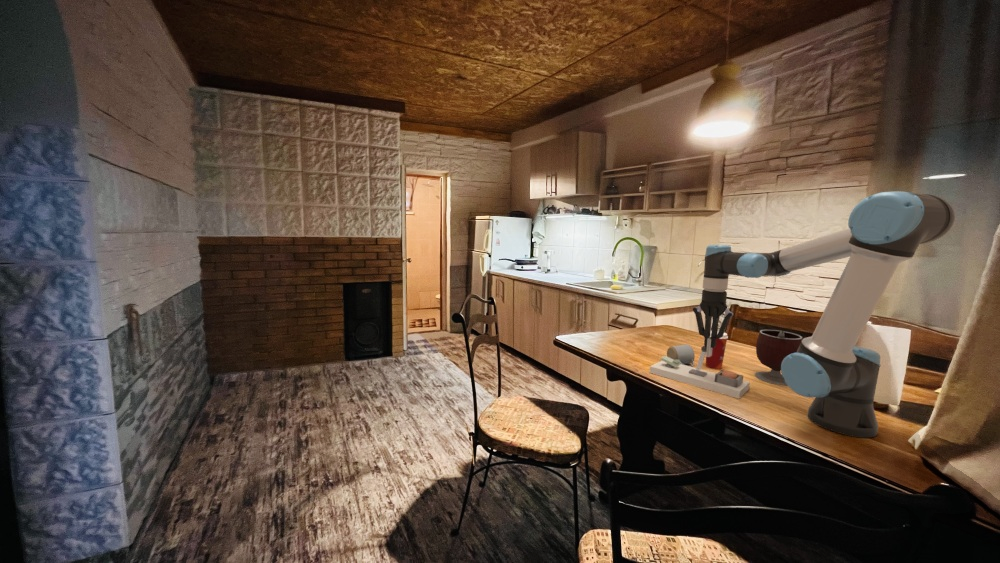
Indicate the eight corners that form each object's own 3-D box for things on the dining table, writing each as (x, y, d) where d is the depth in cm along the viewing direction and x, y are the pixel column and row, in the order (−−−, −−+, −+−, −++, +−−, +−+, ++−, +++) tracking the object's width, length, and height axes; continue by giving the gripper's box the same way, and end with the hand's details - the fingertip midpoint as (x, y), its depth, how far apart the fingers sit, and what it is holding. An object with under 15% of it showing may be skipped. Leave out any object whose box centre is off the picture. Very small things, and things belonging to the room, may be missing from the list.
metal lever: (702, 370, 143) (709, 346, 141) (700, 371, 142) (707, 348, 139) (696, 367, 145) (703, 344, 142) (693, 369, 143) (701, 345, 141)
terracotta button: (737, 380, 136) (738, 373, 136) (734, 383, 133) (734, 376, 133) (723, 376, 139) (724, 369, 139) (719, 379, 136) (720, 372, 136)
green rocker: (679, 365, 149) (681, 361, 149) (676, 367, 147) (677, 363, 146) (664, 358, 153) (665, 354, 153) (660, 359, 151) (661, 355, 150)
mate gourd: (752, 369, 157) (758, 320, 155) (796, 377, 150) (803, 325, 147) (752, 381, 144) (759, 327, 142) (799, 391, 137) (808, 334, 134)
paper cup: (727, 371, 155) (731, 336, 153) (706, 369, 156) (710, 334, 154) (720, 364, 162) (723, 330, 160) (699, 362, 163) (703, 329, 161)
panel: (749, 389, 137) (750, 375, 137) (739, 398, 129) (740, 383, 128) (662, 365, 158) (664, 353, 158) (649, 372, 150) (650, 359, 149)
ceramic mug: (664, 360, 165) (666, 342, 164) (682, 359, 166) (684, 342, 165) (681, 370, 154) (683, 351, 153) (699, 369, 156) (701, 350, 155)
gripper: (738, 291, 135) (731, 358, 139) (699, 286, 144) (694, 349, 147) (731, 293, 130) (725, 362, 133) (691, 288, 139) (686, 354, 142)
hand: (708, 356), depth 140 cm, fingers closed
